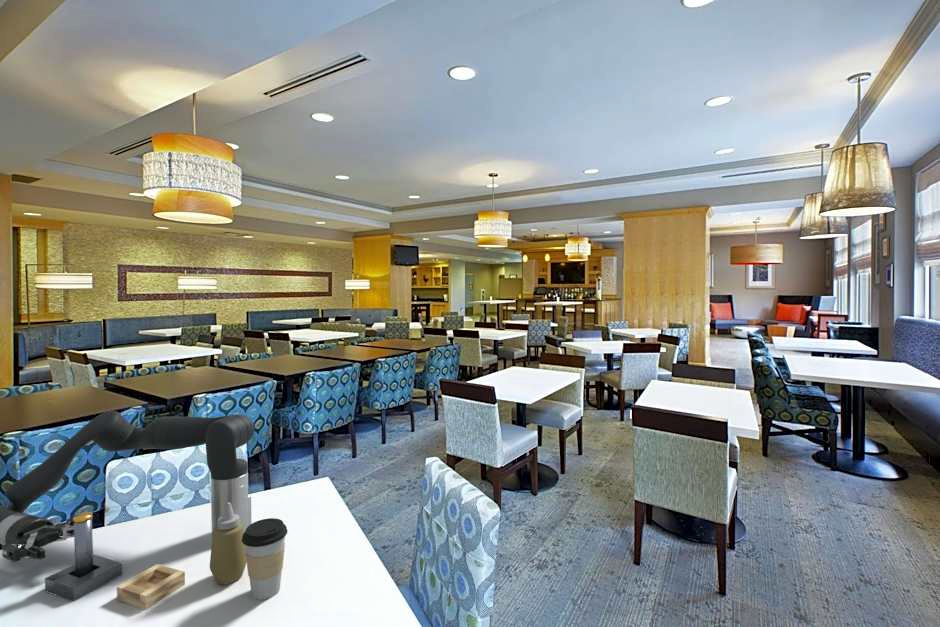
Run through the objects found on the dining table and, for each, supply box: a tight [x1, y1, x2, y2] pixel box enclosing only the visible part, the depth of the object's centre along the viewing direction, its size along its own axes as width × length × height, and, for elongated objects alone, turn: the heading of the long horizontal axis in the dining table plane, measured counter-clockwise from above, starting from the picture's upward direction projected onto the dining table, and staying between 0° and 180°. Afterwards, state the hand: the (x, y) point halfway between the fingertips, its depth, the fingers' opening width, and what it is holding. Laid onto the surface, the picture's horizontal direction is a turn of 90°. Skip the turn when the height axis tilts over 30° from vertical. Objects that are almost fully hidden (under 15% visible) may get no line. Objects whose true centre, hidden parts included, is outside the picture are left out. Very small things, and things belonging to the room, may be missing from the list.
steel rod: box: [72, 511, 94, 578], centre depth 104 cm, size 3×3×16 cm
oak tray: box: [116, 563, 186, 610], centre depth 102 cm, size 9×9×3 cm
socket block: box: [44, 554, 123, 602], centre depth 105 cm, size 10×10×3 cm
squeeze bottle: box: [209, 502, 247, 585], centre depth 107 cm, size 8×8×18 cm
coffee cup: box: [242, 517, 288, 601], centre depth 102 cm, size 9×9×15 cm
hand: (65, 544), depth 105 cm, fingers open, 8 cm apart
